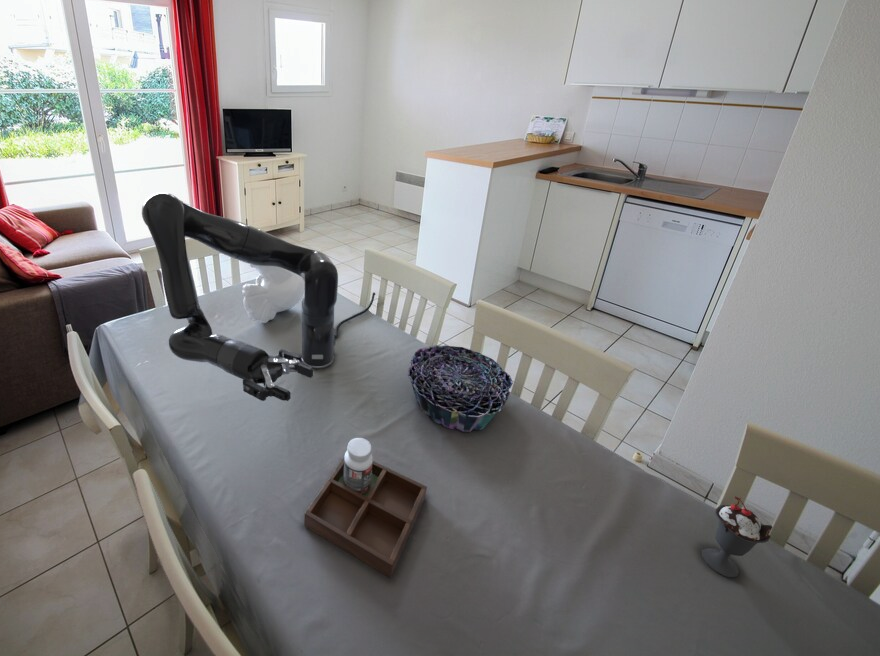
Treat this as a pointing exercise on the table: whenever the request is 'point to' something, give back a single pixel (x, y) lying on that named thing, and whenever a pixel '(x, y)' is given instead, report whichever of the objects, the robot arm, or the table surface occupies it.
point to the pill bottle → (358, 465)
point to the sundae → (734, 537)
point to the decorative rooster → (272, 292)
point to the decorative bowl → (458, 386)
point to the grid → (368, 516)
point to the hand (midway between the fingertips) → (301, 384)
